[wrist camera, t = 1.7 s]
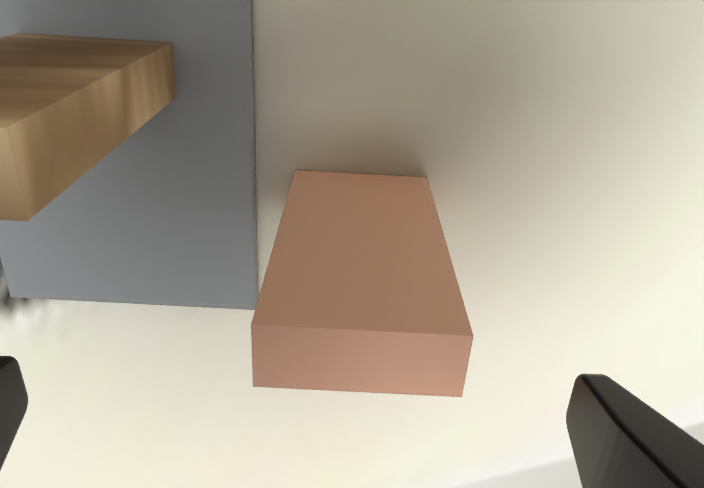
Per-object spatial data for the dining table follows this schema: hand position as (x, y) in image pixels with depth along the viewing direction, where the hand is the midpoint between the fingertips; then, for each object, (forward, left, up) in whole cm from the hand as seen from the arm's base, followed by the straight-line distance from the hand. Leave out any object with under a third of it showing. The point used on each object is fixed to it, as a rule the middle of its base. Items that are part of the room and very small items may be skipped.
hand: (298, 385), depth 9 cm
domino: (+8, +2, -13) cm, 15 cm away
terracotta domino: (-2, +1, -13) cm, 14 cm away
